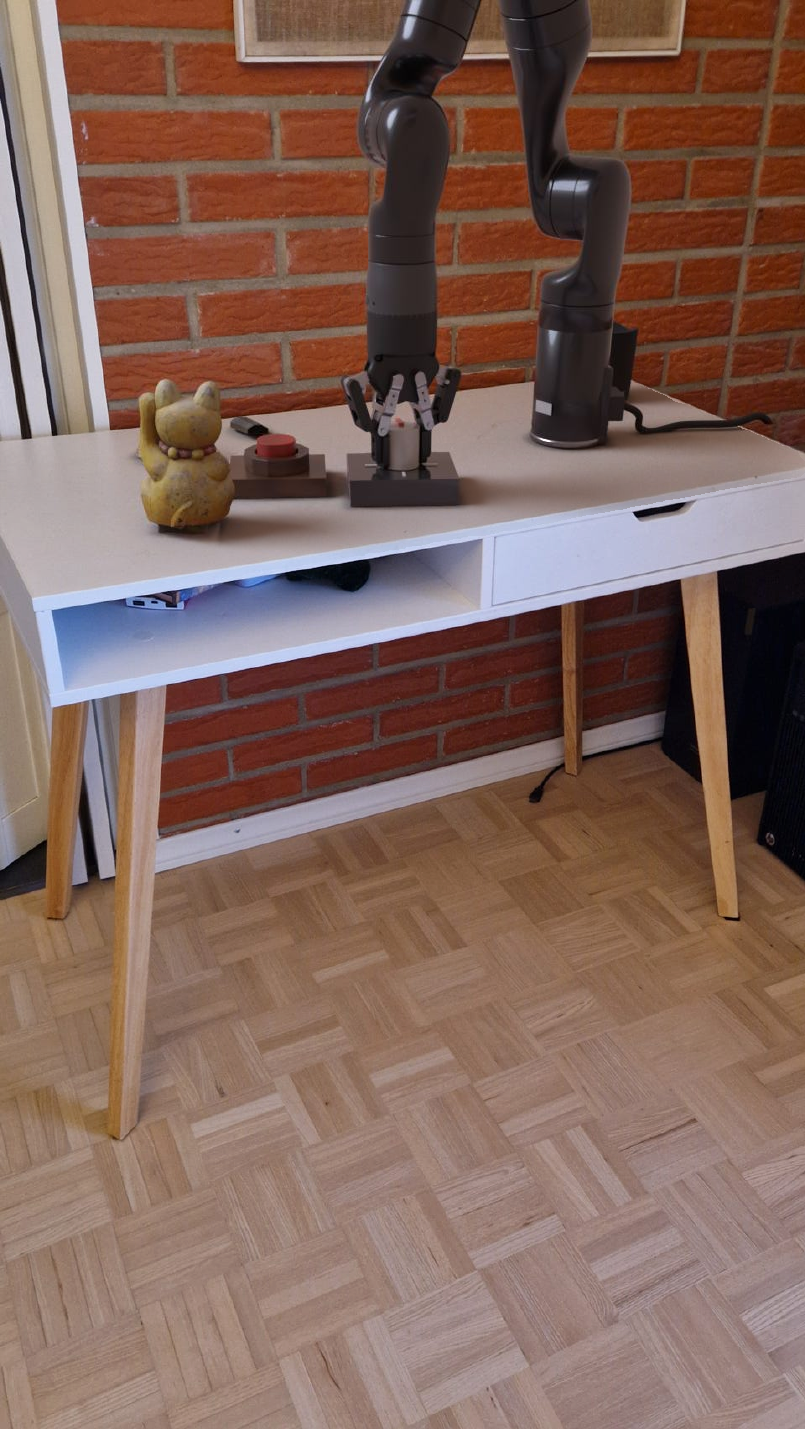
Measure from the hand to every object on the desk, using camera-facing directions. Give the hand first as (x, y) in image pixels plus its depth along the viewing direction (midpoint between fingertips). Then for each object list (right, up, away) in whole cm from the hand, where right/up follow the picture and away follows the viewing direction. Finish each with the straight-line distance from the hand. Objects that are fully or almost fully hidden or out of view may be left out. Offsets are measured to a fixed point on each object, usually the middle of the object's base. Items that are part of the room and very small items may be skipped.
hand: (401, 463), depth 133 cm
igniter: (-14, -2, +3) cm, 15 cm away
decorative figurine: (-22, -9, -9) cm, 26 cm away
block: (-20, +8, +22) cm, 31 cm away
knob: (0, 0, 0) cm, 0 cm away
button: (-14, +1, +1) cm, 14 cm away
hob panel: (0, -3, +2) cm, 3 cm away
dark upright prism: (+29, +18, +39) cm, 52 cm away
